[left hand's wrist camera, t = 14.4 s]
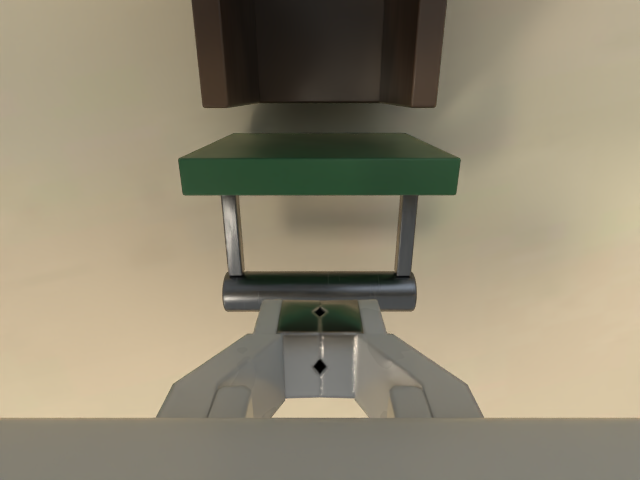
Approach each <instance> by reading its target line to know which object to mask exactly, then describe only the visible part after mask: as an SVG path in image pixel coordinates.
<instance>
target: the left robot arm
mask: <svg viewBox="0 0 640 480" xmlns="http://www.w3.org/2000/svg"><path fill="white" fill-rule="evenodd" d="M313 397H326V398H355V401H356V402H357V403H358V404H359V406H360V407H361V408H362V409H363V411H364V412H365V413H366V414H367V416H368V417H369V418H271V417H272V416H273V415H274V413H275V412H276V411H277V410H278V408H279V407H280V406H281V405H282V404H283V402H284V401H285V398H313ZM0 480H640V418H484V416H483V414H482V412H481V410H480V408H479V406H478V404H477V402H476V401H475V399H474V397H473V395H472V393H471V391H470V389H469V387H468V385H467V384H466V383H464V382H463V381H461V380H460V379H458V378H457V377H455V376H454V375H453V374H451V373H450V372H448V371H447V370H445V369H444V368H442V367H441V366H439V365H438V364H436V363H435V362H433V361H432V360H430V359H429V358H427V357H426V356H424V355H423V354H422V353H420V352H419V351H417V350H416V349H414V348H413V347H411V346H410V345H408V344H407V343H405V342H404V341H402V340H401V339H399V338H398V337H396V336H395V335H393V334H387V332H386V329H385V325H384V322H383V318H382V315H381V311H380V308H379V304H378V301H377V300H376V299H369V300H326V301H320V300H282V299H274V300H263V301H262V304H261V307H260V311H259V314H258V318H257V321H256V325H255V328H254V332H253V334H247V335H245V336H244V337H242V338H241V339H239V340H238V341H236V342H235V343H233V344H232V345H230V346H229V347H227V348H226V349H224V350H223V351H221V352H220V353H218V354H217V355H215V356H214V357H212V358H211V359H209V360H208V361H207V362H205V363H204V364H202V365H201V366H199V367H198V368H196V369H195V370H193V371H192V372H190V373H189V374H187V375H186V376H184V377H183V378H181V379H180V380H178V381H177V382H175V383H174V384H173V385H172V387H171V389H170V391H169V393H168V395H167V397H166V399H165V401H164V403H163V405H162V407H161V409H160V410H159V412H158V414H157V416H156V418H0Z"/></svg>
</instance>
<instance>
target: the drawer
mask: <svg viewBox="0 0 640 480" xmlns="http://www.w3.org/2000/svg"><path fill="white" fill-rule="evenodd" d="M446 6H447V0H192V10H193V19H194V29H195V38H196V48H197V57H198V67H199V76H200V86H201V95H202V105H203V107H204V108H229V107H236V106H242V105H249V104H256V103H384V104H390V105H397V106H404V107H410V108H434V107H436V102H437V93H438V83H439V73H440V64H441V54H442V44H443V35H444V25H445V16H446ZM460 161H461V160H460V158H458V157H456V156H454V155H452V154H449V153H447V152H445V151H443V150H441V149H439V148H436V147H434V146H432V145H430V144H428V143H425V142H423V141H421V140H419V139H417V138H415V137H412V136H410V135H408V134H406V133H233V134H231V135H229V136H227V137H225V138H222V139H220V140H218V141H216V142H214V143H212V144H209V145H207V146H205V147H203V148H201V149H198V150H196V151H194V152H192V153H190V154H188V155H185V156H183V157H181V158H179V160H178V162H179V169H180V177H181V184H182V192H183V195H221V202H222V212H223V223H224V233H225V243H226V254H227V264H228V272H227V273H226V275H225V278H224V281H223V290H222V297H223V305H224V308H225V310H226V311H228V312H259V311H260V307H261V304H262V301H263V300H274V299H282V300H320V301H326V300H369V299H376V300H377V301H378V304H379V308H380V311H381V312H395V311H413V310H414V309H415V306H416V300H417V288H416V281H415V277H414V274H413V273H412V272H411V267H412V256H413V246H414V235H415V225H416V214H417V204H418V195H456V191H457V184H458V176H459V168H460ZM239 195H400V203H399V216H398V229H397V242H396V255H395V268H394V270H395V271H244V270H245V268H244V255H243V242H242V230H241V217H240V205H239Z"/></svg>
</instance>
